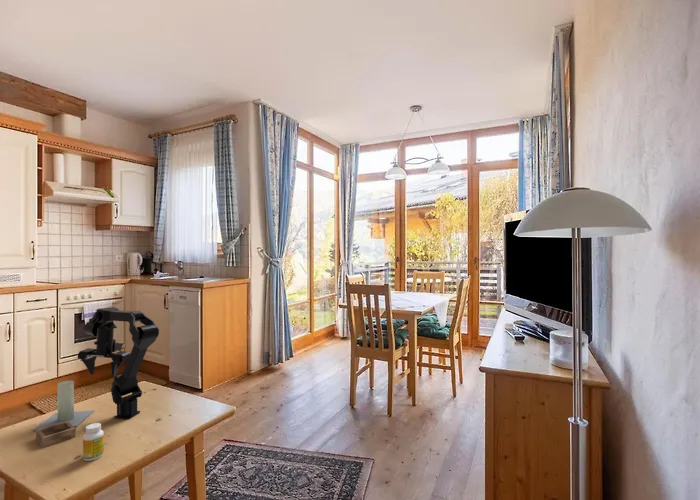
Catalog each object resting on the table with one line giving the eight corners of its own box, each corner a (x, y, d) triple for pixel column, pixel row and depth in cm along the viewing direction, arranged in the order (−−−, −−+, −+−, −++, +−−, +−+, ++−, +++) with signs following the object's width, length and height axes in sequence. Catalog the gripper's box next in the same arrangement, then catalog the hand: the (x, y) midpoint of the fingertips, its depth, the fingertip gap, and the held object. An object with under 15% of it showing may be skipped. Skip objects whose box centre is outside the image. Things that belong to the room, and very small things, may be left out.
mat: (94, 411, 151) (94, 410, 151) (76, 426, 138) (76, 425, 138) (55, 414, 149) (55, 413, 149) (33, 430, 135) (33, 429, 135)
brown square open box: (67, 429, 136) (67, 420, 136) (75, 436, 130) (75, 428, 130) (35, 438, 129) (35, 430, 129) (42, 447, 123) (42, 438, 123)
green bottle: (74, 419, 143) (74, 382, 143) (57, 423, 140) (58, 386, 140) (73, 415, 147) (73, 379, 147) (57, 418, 143) (57, 382, 143)
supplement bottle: (93, 462, 115) (93, 430, 115) (78, 460, 116) (78, 428, 116) (107, 453, 120) (107, 422, 120) (93, 451, 121) (93, 421, 121)
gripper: (139, 335, 161) (137, 371, 162) (97, 331, 162) (95, 367, 163) (122, 342, 150) (119, 380, 151) (77, 338, 151) (75, 376, 152)
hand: (103, 375), depth 154 cm, fingers open, 9 cm apart
